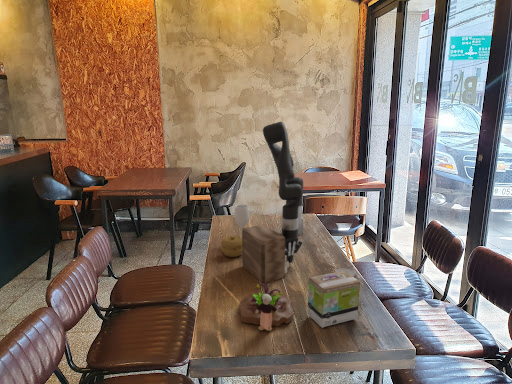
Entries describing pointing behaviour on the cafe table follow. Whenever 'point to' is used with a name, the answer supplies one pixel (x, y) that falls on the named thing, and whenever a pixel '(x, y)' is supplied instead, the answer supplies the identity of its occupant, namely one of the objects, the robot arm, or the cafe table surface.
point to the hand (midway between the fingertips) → (289, 262)
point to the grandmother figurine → (266, 313)
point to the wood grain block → (263, 253)
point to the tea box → (333, 298)
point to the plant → (278, 301)
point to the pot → (232, 246)
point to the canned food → (347, 271)
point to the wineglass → (241, 215)
